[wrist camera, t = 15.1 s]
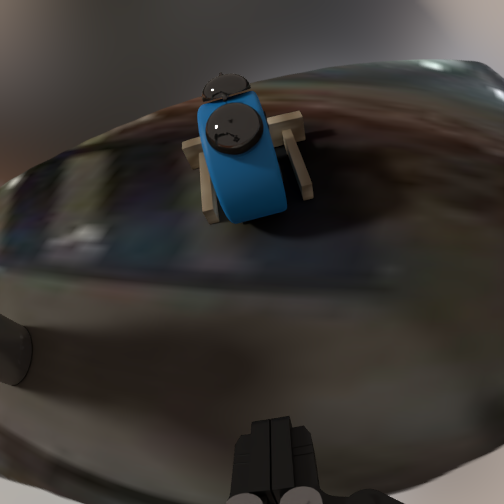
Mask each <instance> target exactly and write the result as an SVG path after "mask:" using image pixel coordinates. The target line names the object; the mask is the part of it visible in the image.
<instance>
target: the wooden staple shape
mask: <svg viewBox="0 0 504 504" xmlns="http://www.w3.org/2000/svg"><path fill="white" fill-rule="evenodd" d="M267 122H268V124H269V132H270V135H271V139H272V142H273V146H274V147H277V146H281V145H285V148H286V151H287V154H288V157H289V159H290V162H291V165H292V168H293V171H294V174H295V177H296V180H297V183H298V186H299V189H300V191H301V195H302V198H303V201H304V200H308V199H312V198H313V188H312V182H311V180H310V177H309V174H308V172H307V169H306V166H305V164H304V161H303V159H302V156H301V154H300V151H299V149H298V146H297V144H296V142H298V141H303V140H306V139H305V132H304V124H303V117H302V115H301V113H300V111H296V112H292V113H287V114H283V115H278V116H274V117H270V118H267ZM182 150H183V152H184V154H185V156H186V158H187V160H188V162H189V163H190V165H191V167H192V169H196V168H199V167H200V180H201V195H202V210H203V213H204V215H205V217H206V219H207V220H208V222H209V224H213V223H217V222H219V213H218V204H217V195H216V192H215V189H214V186H213V183H212V180H211V177H210V174H209V171H208V167H207V164H206V160H205V157H204V153H203V148H202V144H201V139H200V137H197V138H194V139H191V140H187V141H184V142H182Z"/></svg>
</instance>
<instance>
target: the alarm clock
mask: <svg viewBox="0 0 504 504" xmlns="http://www.w3.org/2000/svg"><path fill="white" fill-rule="evenodd" d="M250 88H251V87H250V84H249V82H248V81H247V79H245V78H244V77H242V76H240V75H237V74H225V75H223V74H222V73H219V76H218V77H216V78H213V79H212V80H210V81H209V82H208V83H207V84H206V85H205V87H204V89H203V91H202V99H203V102H205V101H209V100H213V99H216V98H220V97H222V98H223V99H220V100H217V101H213V102H210V103H207V104H204V105H202V106H201V107H200V108H199V110H198V127H199V134H200V139H201V144H202V148H203V153H204V157H205V160H206V164H207V167H208V171H209V174H210V177H211V180H212V183H213V186H214V189H215V192H216V194H217V197H218V199H219V202H220V204H221V206H222V209H223V211H224V213H225V215H226V216H227V218H228V219H229V220H230V221H231V222H232V223H235V224H237V223H241V222H243V224H246V223H245V221H249V220H253V219H257V218H260V217H264V216H268V215H272V214H276V213H280V212H284V211H285V210H286V209H287V200H286V195H285V190H284V185H283V181H284V178H283V175H282V171H281V167H280V165H279V163H278V161H277V157H276V153H275V149H274V146H273V142H272V139H271V135H270V132H269V124H268V122H267V118H266V114H265V111H264V112H263V110H262V107H261V104H260V101H259V99H258V96H257V94H256V93H255V92H254V91H249V92H245V93H241V94H238V95H234V96H231V97H229V95H230V94H234V93H237V92H241V91H244V90H247V89H250Z"/></svg>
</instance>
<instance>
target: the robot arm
mask: <svg viewBox="0 0 504 504" xmlns="http://www.w3.org/2000/svg"><path fill="white" fill-rule="evenodd" d="M31 355H32V344H31V338H30V335H29V333H28V331H27V329H26V328H25V327H23V326H22V325H20V324H18V323H16V322H14V321H12V320H10V319H9V318H7V317H5V316H3V315H2V314H0V382H2V383H5V384H9V385H15V384H18V383H19V382H20V381H21V380H22V379H23V378H24V377H25V375H26V373H27V371H28V368H29V365H30V361H31ZM234 456H235V457H234V465H233V473H232V483H231V493H230V497H229V499H228V500H227V502H226V503H225V504H404V503H402V502H400V501H398V500H396V499H394V498H392V497H390V496H388V495H386V494H384V493H382V492H380V491H377V490H374V489H364V490H360V491H358V492H355V493H354V494H352V495H351V496H350V497H336V496H331V495H328V494H326V493H324V492H323V491H322V490H321V489H320V486H319V479H318V473H317V466H316V459H315V453H314V448H313V443H312V438H311V434H310V432H309V431H308V430H307V429H306V428H305V426H299V427H294V428H292V424H291V420H290V417H289V416H286V417H280V418H274V419H271V420H270V419H268V420H261V421H254V422H252V425H251V434H248V435H241V436H240V438H239V440H238V441H237V443H236V445H235V453H234Z"/></svg>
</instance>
